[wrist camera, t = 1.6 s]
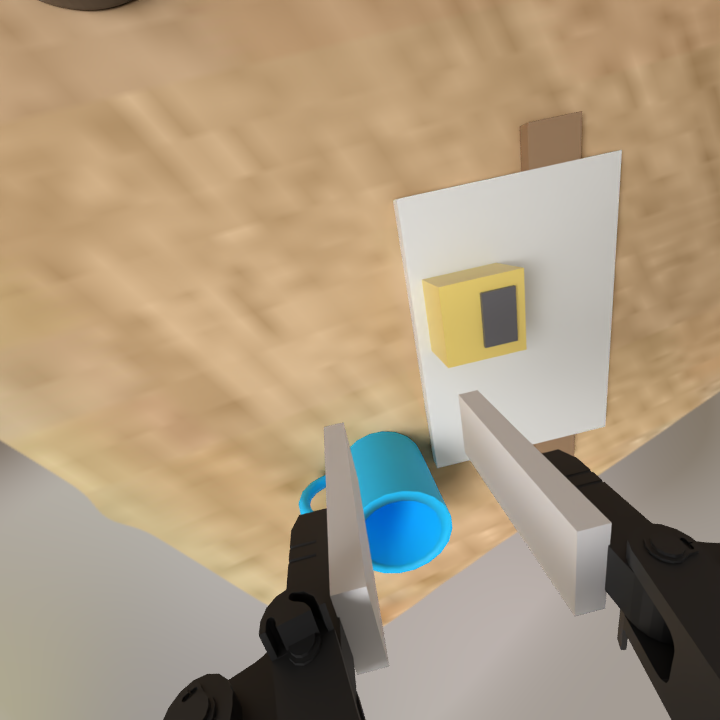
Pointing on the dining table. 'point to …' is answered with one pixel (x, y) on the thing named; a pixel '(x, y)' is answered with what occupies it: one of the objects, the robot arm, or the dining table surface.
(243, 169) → the dining table surface
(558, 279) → the drywall panel
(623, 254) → the dining table surface
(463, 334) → the block
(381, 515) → the mug
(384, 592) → the dining table surface
